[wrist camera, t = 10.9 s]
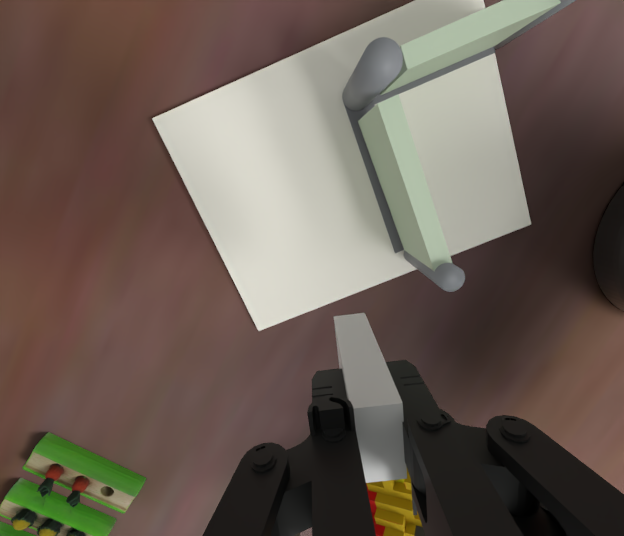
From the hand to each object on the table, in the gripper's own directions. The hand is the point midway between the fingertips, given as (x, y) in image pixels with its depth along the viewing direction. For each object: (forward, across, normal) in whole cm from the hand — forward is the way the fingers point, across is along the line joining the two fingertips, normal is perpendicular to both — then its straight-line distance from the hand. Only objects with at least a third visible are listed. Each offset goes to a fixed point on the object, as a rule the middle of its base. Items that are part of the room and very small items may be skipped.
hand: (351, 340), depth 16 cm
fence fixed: (+12, +8, +14) cm, 20 cm away
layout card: (+12, +2, +8) cm, 14 cm away
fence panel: (+11, +5, +6) cm, 13 cm away
